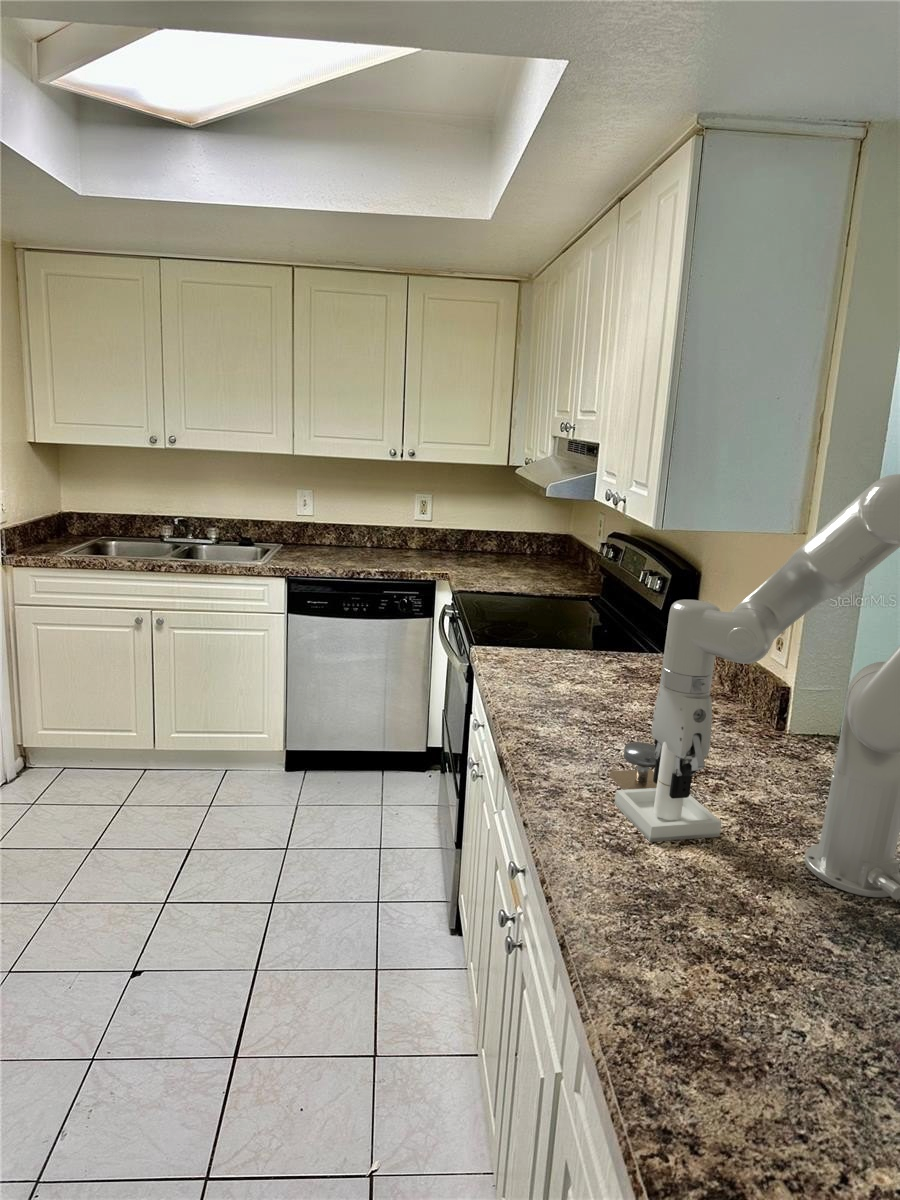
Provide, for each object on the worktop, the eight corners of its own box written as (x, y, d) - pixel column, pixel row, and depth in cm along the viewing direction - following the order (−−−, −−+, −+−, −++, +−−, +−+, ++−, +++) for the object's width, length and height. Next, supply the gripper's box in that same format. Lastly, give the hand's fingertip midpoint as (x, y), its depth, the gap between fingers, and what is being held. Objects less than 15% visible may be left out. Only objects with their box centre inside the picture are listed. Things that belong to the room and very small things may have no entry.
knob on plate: (672, 794, 133) (677, 759, 132) (630, 797, 131) (635, 761, 130) (649, 774, 141) (654, 740, 139) (609, 776, 139) (614, 741, 137)
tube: (662, 820, 121) (674, 731, 118) (648, 807, 125) (660, 720, 122) (686, 819, 122) (699, 730, 119) (671, 806, 126) (683, 719, 123)
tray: (719, 836, 120) (721, 822, 119) (649, 841, 117) (651, 826, 116) (678, 800, 131) (680, 786, 131) (614, 804, 128) (616, 790, 128)
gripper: (739, 698, 112) (721, 814, 116) (678, 663, 128) (664, 766, 132) (694, 700, 110) (677, 817, 114) (637, 664, 126) (624, 768, 130)
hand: (670, 788), depth 123 cm, fingers closed on tube, 4 cm apart
